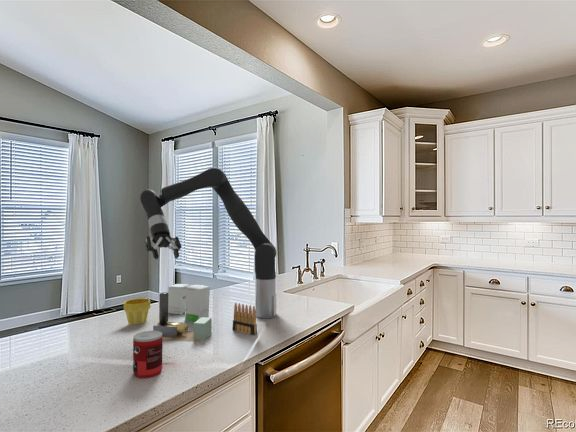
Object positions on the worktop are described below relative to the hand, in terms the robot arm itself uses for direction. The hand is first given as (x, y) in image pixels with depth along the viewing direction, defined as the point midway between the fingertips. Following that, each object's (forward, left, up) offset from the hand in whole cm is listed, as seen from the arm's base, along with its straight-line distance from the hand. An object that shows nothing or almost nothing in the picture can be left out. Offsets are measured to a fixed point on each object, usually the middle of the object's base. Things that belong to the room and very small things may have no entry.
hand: (167, 258), depth 141 cm
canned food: (-15, +40, -28) cm, 52 cm away
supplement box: (+4, -20, -28) cm, 35 cm away
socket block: (-21, +13, -27) cm, 37 cm away
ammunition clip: (-35, +6, -28) cm, 45 cm away
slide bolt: (-9, +13, -27) cm, 31 cm away
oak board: (-13, +13, -28) cm, 34 cm away
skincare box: (-11, -6, -28) cm, 31 cm away
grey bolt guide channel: (-7, +13, -27) cm, 31 cm away
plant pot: (+13, 0, -28) cm, 31 cm away
